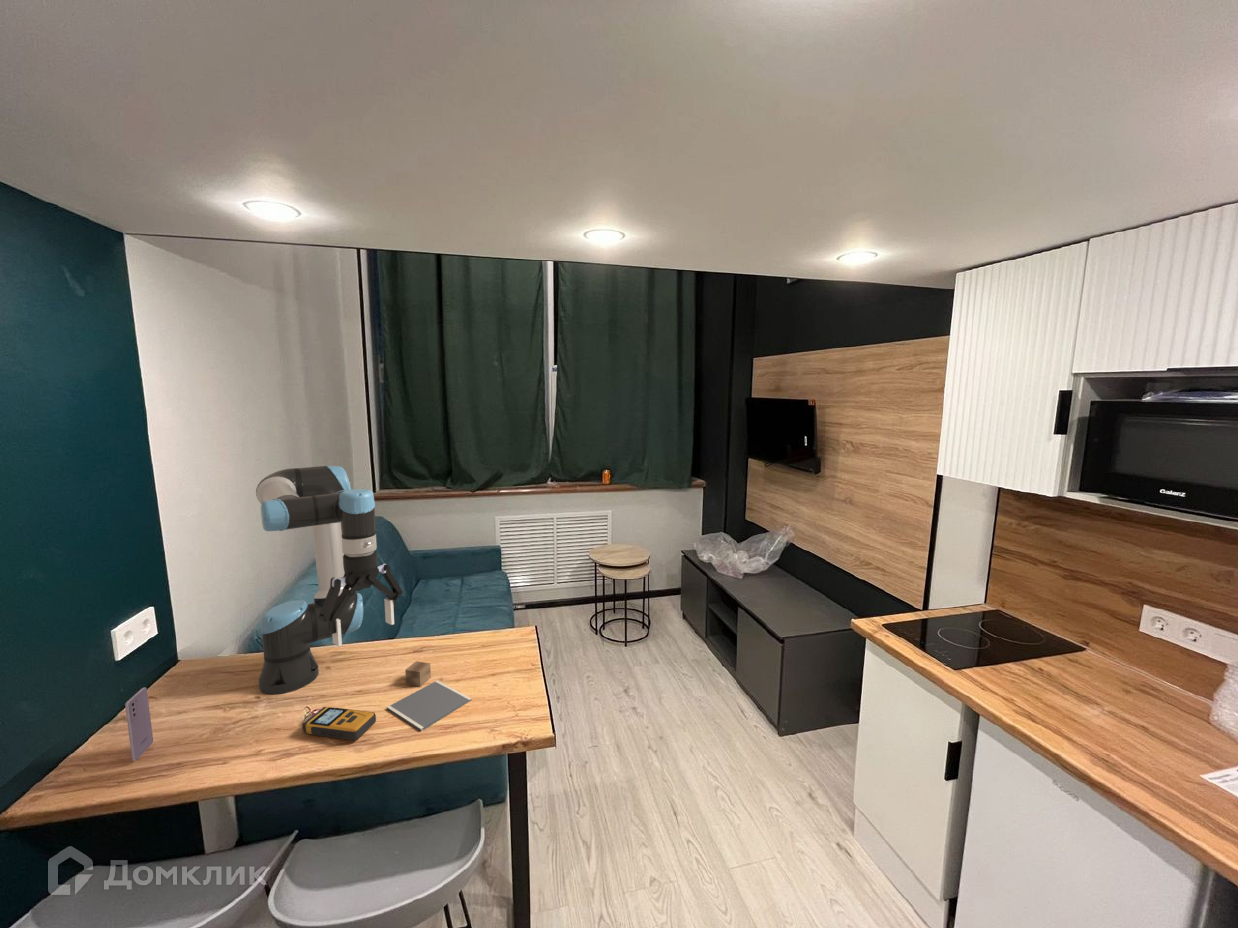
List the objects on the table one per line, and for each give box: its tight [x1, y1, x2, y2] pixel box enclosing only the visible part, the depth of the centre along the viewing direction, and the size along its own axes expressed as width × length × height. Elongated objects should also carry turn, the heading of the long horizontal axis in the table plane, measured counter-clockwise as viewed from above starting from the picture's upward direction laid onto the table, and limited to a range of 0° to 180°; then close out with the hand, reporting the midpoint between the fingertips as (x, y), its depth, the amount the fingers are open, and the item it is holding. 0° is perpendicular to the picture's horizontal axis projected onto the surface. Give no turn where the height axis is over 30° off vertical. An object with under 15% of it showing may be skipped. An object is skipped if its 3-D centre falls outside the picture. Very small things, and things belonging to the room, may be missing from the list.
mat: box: [386, 680, 472, 732], centre depth 137 cm, size 16×16×1 cm
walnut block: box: [404, 660, 432, 688], centre depth 148 cm, size 5×5×5 cm
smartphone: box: [124, 687, 154, 762], centre depth 117 cm, size 7×1×15 cm, turn 18°
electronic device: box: [302, 706, 377, 741], centre depth 127 cm, size 8×16×3 cm, turn 79°
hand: (364, 633), depth 124 cm, fingers open, 13 cm apart
